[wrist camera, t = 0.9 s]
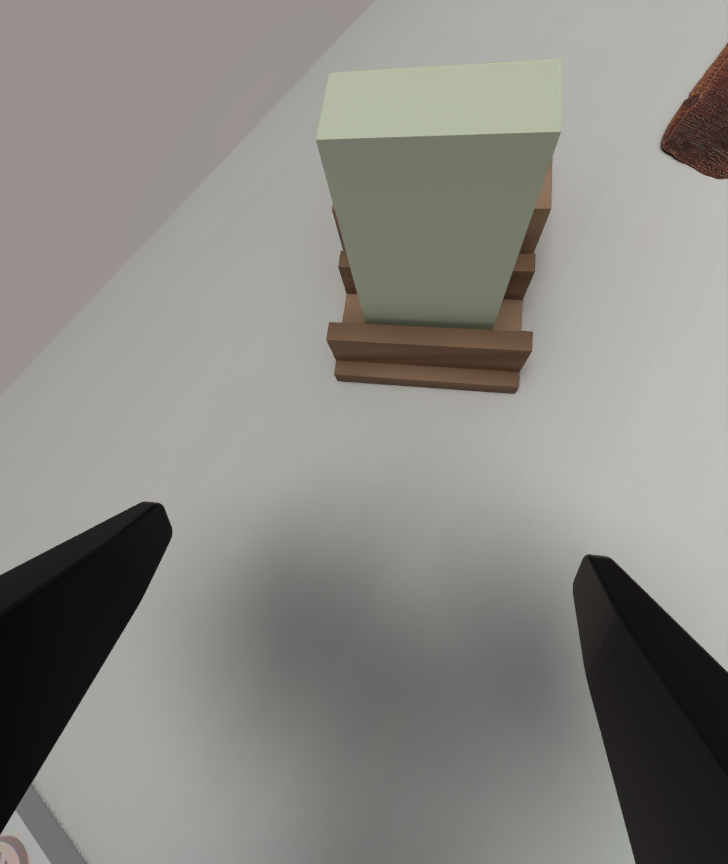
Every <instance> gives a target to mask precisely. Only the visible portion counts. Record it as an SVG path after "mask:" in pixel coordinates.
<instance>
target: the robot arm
mask: <svg viewBox="0 0 728 864" xmlns="http://www.w3.org/2000/svg"><path fill="white" fill-rule="evenodd" d="M171 537H172V526H171V524H170V521H169V519H168V516H167V513H166V511H165V508H164V506H163V505H162V504H160V503H155V502H141V503H139V504H137V505H135V506H133V507H131V508H129V509H127V510H125V511H123V512H122V513H120V514H118V515H116V516H114V517H112V518H110V519H108V520H106V521H104V522H102V523H100V524H98V525H96V526H94V527H93V528H91V529H89V530H87V531H85V532H83V533H81V534H79V535H77V536H75V537H73V538H71V539H69V540H67V541H65V542H63V543H62V544H60V545H58V546H56V547H54V548H52V549H50V550H48V551H46V552H44V553H42V554H40V555H38V556H36V557H34V558H33V559H31V560H29V561H27V562H25V563H23V564H21V565H19V566H17V567H15V568H13V569H11V570H9V571H7V572H5V573H4V574H2V575H0V835H1V833H2V831H3V830H4V828H5V826H6V825H7V823H8V822H9V820H10V818H11V817H12V815H13V813H14V812H15V810H16V808H17V807H18V805H19V803H20V802H21V800H22V798H23V797H24V795H25V793H26V792H27V790H28V788H29V787H30V785H31V783H32V782H33V780H34V778H35V777H36V775H37V773H38V772H39V770H40V768H41V767H42V765H43V763H44V762H45V760H46V758H47V757H48V755H49V753H50V752H51V750H52V748H53V747H54V745H55V743H56V742H57V740H58V738H59V737H60V735H61V733H62V732H63V730H64V728H65V727H66V725H67V723H68V722H69V720H70V718H71V717H72V715H73V713H74V712H75V710H76V708H77V707H78V705H79V704H80V702H81V700H82V699H83V697H84V695H85V694H86V692H87V690H88V689H89V687H90V685H91V684H92V682H93V680H94V679H95V677H96V675H97V674H98V672H99V670H100V669H101V667H102V665H103V664H104V662H105V660H106V659H107V657H108V655H109V654H110V652H111V650H112V649H113V647H114V645H115V644H116V642H117V640H118V639H119V637H120V635H121V634H122V632H123V630H124V629H125V627H126V625H127V624H128V622H129V620H130V619H131V617H132V615H133V614H134V612H135V610H136V609H137V607H138V605H139V603H140V602H141V600H142V598H143V596H144V594H145V592H146V590H147V588H148V586H149V584H150V582H151V580H152V578H153V576H154V573H155V571H156V569H157V567H158V565H159V563H160V561H161V559H162V557H163V555H164V553H165V551H166V548H167V546H168V544H169V542H170V540H171ZM573 596H574V603H575V609H576V616H577V623H578V629H579V636H580V642H581V649H582V655H583V662H584V667H585V673H586V677H587V682H588V686H589V690H590V694H591V697H592V701H593V705H594V709H595V712H596V716H597V720H598V724H599V727H600V731H601V735H602V739H603V742H604V746H605V750H606V754H607V757H608V761H609V765H610V769H611V772H612V776H613V780H614V784H615V787H616V791H617V795H618V799H619V802H620V806H621V810H622V814H623V818H624V821H625V825H626V829H627V833H628V836H629V840H630V844H631V848H632V851H633V855H634V859H635V863H636V864H728V672H727V671H726V670H725V669H724V668H723V667H722V666H721V665H720V664H719V663H718V662H717V661H716V660H715V659H714V658H713V657H712V656H711V655H710V654H709V653H708V652H707V651H706V650H705V649H704V648H703V647H701V646H700V645H699V644H698V643H697V642H696V641H695V640H694V639H693V638H692V637H691V636H690V635H689V634H688V633H687V632H686V631H685V630H684V629H683V628H682V627H681V626H680V625H679V624H678V623H677V622H676V621H675V620H674V619H673V618H672V617H671V616H670V615H669V614H668V613H667V612H666V611H665V610H664V609H663V608H662V607H661V606H660V605H659V604H658V603H657V602H656V601H654V600H653V599H652V598H651V597H650V596H649V595H648V594H647V593H646V592H645V591H644V590H643V589H642V588H641V587H640V586H639V585H638V584H637V583H636V582H635V581H634V580H633V579H632V578H631V577H630V576H629V575H628V574H627V573H626V572H625V571H624V570H623V569H622V568H621V567H620V566H619V565H618V564H617V563H616V562H615V561H614V560H612V559H611V558H609V557H607V556H599V555H591V554H588V555H585V556H584V558H583V559H582V562H581V564H580V567H579V569H578V572H577V574H576V577H575V579H574V582H573Z"/></svg>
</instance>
